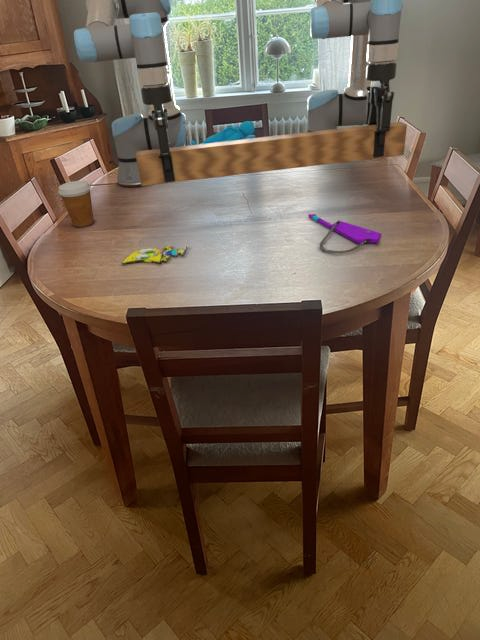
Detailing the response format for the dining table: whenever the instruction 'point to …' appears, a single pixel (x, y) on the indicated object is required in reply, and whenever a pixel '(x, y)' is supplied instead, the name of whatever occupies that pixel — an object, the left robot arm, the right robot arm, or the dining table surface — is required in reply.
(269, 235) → the dining table surface
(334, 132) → the beam
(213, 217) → the dining table surface
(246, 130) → the toy
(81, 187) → the disposable coffee cup
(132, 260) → the toy
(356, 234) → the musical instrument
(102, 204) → the dining table surface
